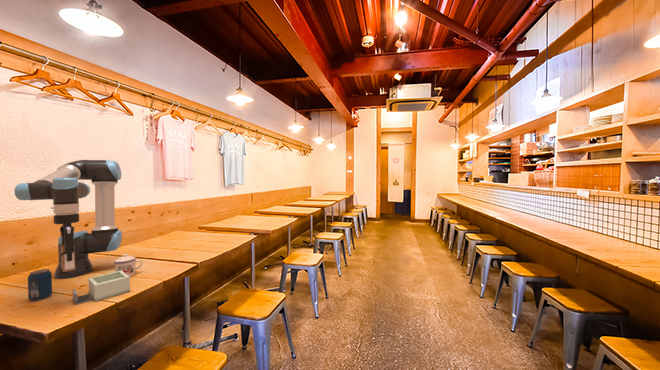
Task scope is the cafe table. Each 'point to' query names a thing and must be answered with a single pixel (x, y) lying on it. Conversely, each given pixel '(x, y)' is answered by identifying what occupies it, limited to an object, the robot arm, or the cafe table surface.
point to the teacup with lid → (126, 265)
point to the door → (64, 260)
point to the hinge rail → (81, 297)
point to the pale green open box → (109, 285)
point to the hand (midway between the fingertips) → (68, 266)
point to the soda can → (39, 285)
